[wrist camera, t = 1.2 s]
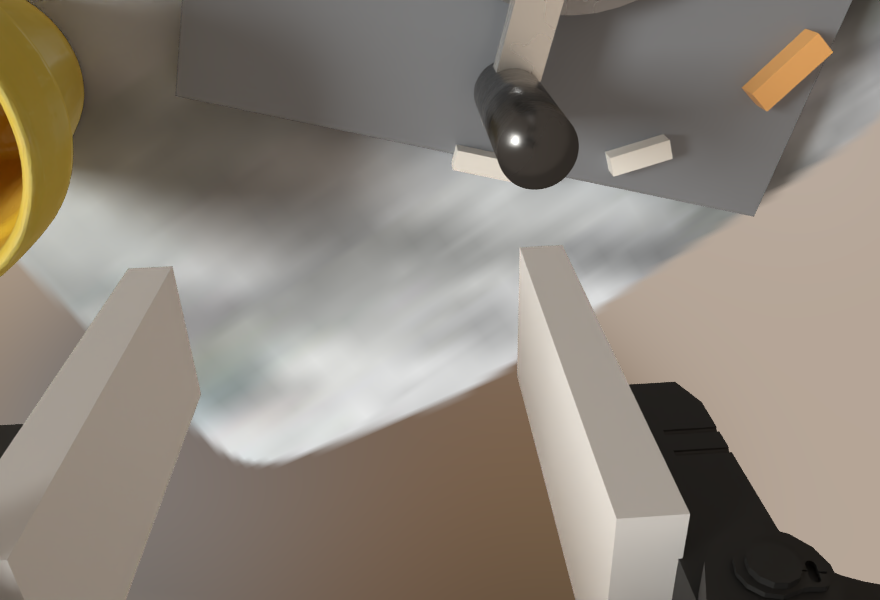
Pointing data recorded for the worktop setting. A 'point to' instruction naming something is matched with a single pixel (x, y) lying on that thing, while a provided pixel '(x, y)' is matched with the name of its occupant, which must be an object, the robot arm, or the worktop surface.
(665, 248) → the worktop surface
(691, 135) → the dial plate
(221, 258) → the worktop surface
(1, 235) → the plant pot
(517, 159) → the dial
